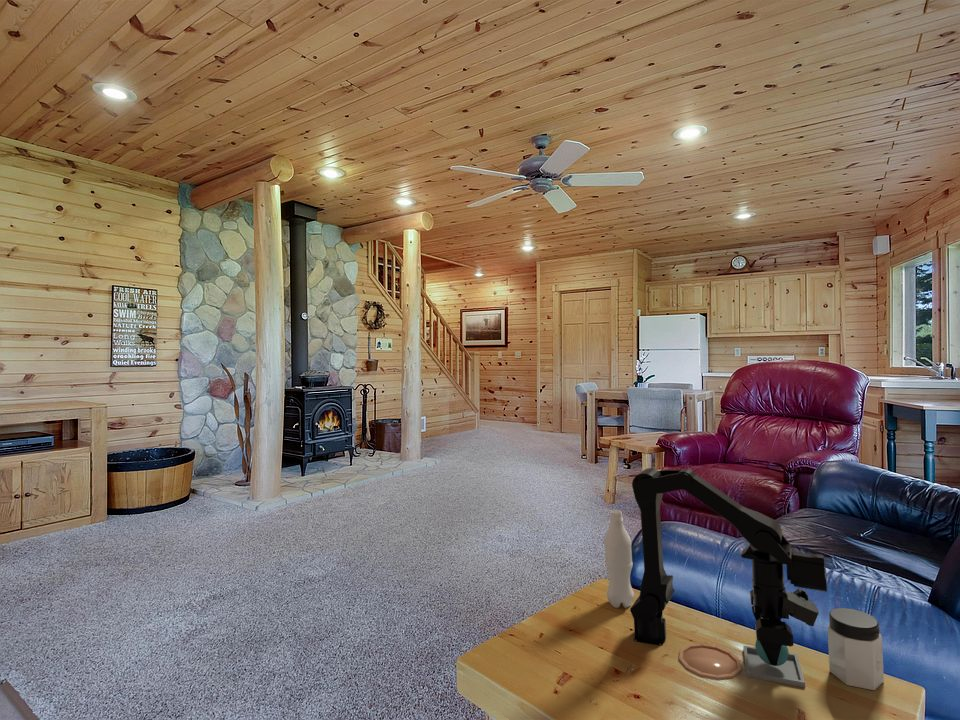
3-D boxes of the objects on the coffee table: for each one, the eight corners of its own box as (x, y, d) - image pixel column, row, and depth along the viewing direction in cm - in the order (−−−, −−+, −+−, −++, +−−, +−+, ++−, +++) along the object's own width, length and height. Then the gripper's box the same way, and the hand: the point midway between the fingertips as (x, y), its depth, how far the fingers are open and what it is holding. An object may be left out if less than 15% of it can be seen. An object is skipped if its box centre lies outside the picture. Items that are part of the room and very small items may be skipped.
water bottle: (608, 610, 135) (603, 515, 135) (606, 597, 142) (601, 507, 142) (636, 611, 133) (631, 515, 133) (632, 598, 141) (628, 507, 141)
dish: (678, 674, 107) (677, 669, 107) (681, 644, 117) (680, 639, 117) (742, 686, 102) (742, 681, 102) (739, 654, 113) (739, 649, 113)
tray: (746, 679, 104) (746, 671, 104) (743, 652, 113) (743, 645, 113) (805, 690, 100) (805, 682, 100) (797, 661, 109) (797, 654, 109)
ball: (757, 668, 105) (755, 639, 105) (754, 653, 110) (753, 625, 110) (791, 674, 102) (789, 645, 102) (787, 658, 108) (785, 630, 108)
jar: (871, 696, 97) (868, 633, 97) (823, 675, 104) (820, 616, 104) (889, 678, 102) (886, 618, 102) (843, 659, 109) (840, 603, 109)
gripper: (823, 607, 95) (827, 691, 95) (805, 568, 112) (809, 639, 112) (755, 598, 99) (759, 679, 99) (748, 562, 116) (751, 630, 116)
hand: (771, 655), depth 106 cm, fingers open, 6 cm apart
